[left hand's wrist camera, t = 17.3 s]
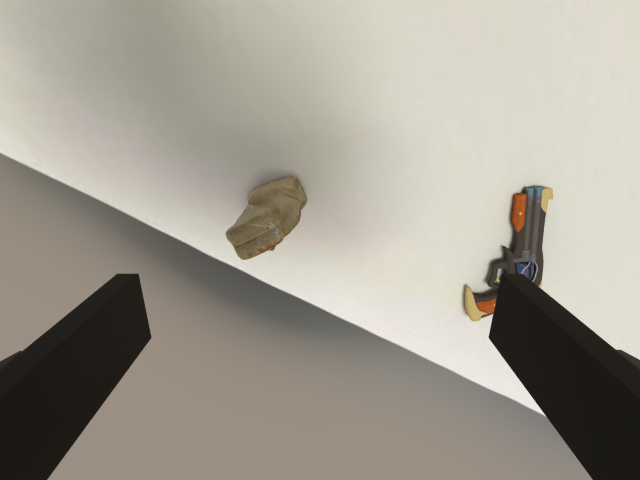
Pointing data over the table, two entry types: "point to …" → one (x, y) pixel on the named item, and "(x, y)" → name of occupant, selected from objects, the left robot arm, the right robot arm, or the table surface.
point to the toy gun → (517, 249)
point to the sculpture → (267, 217)
